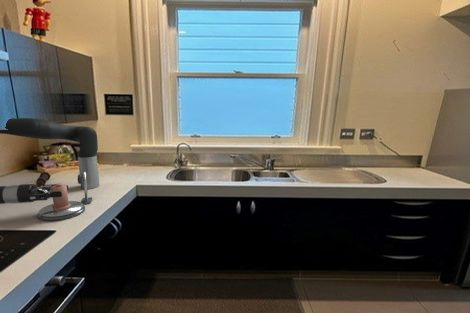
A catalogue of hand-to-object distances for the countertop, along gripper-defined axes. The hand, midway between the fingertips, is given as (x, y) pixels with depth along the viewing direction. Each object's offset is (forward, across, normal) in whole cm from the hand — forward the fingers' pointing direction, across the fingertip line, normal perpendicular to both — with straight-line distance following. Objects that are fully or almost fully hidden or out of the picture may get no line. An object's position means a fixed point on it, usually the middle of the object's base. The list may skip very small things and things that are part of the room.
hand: (65, 190), depth 117 cm
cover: (-2, 0, +8) cm, 8 cm away
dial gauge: (+5, +11, +10) cm, 16 cm away
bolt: (-27, +50, +10) cm, 57 cm away
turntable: (-2, 0, +8) cm, 9 cm away
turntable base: (-2, 0, +10) cm, 10 cm away
